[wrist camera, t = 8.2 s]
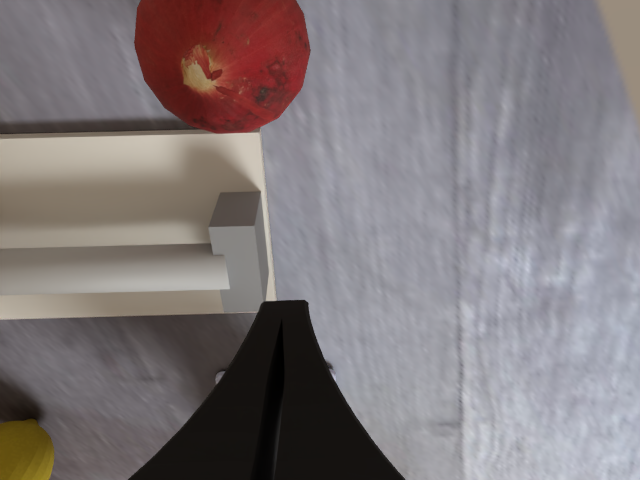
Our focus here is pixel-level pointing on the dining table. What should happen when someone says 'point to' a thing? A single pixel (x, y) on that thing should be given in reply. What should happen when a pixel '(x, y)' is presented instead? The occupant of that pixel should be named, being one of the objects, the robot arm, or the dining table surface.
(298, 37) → the red pomegranate
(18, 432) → the lemon
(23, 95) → the dining table surface
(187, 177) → the rail
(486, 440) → the dining table surface
